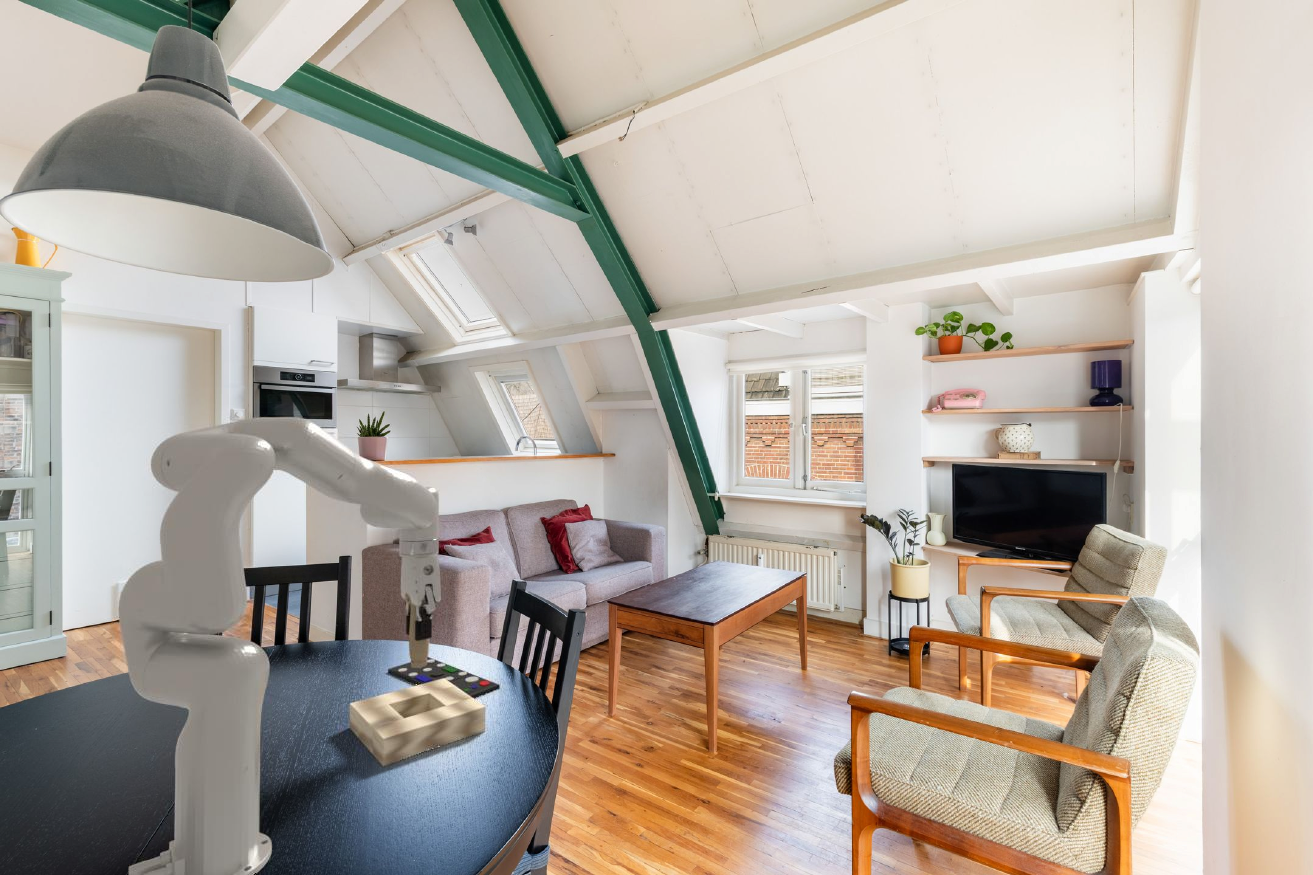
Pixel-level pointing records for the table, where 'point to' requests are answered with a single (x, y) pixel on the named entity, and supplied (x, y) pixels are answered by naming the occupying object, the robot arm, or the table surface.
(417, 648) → the handle
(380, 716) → the socket block
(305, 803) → the table surface
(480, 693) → the remote control
